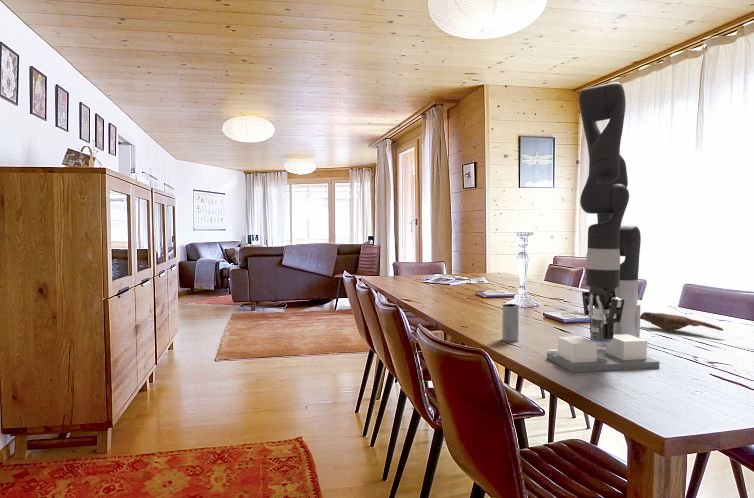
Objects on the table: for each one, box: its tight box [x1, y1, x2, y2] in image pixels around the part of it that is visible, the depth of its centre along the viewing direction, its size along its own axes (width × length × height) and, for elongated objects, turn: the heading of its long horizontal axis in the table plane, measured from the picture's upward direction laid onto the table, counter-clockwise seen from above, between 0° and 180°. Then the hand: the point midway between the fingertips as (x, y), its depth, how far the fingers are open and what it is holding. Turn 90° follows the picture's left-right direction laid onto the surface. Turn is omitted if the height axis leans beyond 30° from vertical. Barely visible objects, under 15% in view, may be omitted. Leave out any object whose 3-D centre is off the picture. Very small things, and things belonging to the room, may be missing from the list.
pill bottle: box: [589, 307, 612, 345], centre depth 120 cm, size 5×5×8 cm
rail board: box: [546, 334, 660, 373], centre depth 120 cm, size 22×12×6 cm, turn 99°
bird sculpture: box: [640, 311, 724, 332], centre depth 155 cm, size 7×25×5 cm, turn 41°
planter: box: [501, 303, 520, 343], centre depth 144 cm, size 4×4×10 cm
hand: (601, 336), depth 120 cm, fingers closed on pill bottle, 4 cm apart
